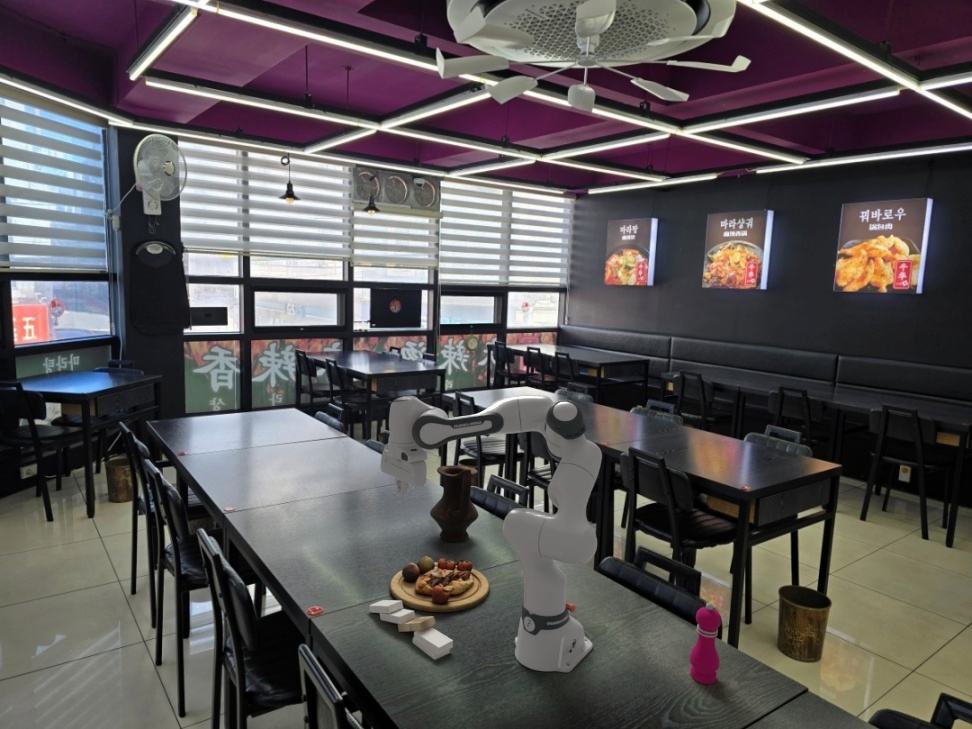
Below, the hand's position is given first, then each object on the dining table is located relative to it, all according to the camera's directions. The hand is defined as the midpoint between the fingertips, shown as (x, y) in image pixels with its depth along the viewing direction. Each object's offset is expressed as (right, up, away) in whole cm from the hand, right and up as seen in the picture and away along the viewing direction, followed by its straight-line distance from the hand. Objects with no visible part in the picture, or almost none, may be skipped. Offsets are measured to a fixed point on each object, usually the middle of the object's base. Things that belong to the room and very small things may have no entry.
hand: (401, 493), depth 192 cm
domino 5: (+8, -36, -19) cm, 41 cm away
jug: (+14, -28, +50) cm, 59 cm away
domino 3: (+3, -34, -14) cm, 37 cm away
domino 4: (+8, -34, -20) cm, 40 cm away
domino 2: (-3, -33, -8) cm, 35 cm away
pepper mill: (+81, -41, -31) cm, 96 cm away
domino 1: (-7, -33, -4) cm, 34 cm away
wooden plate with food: (+11, -33, +10) cm, 36 cm away
